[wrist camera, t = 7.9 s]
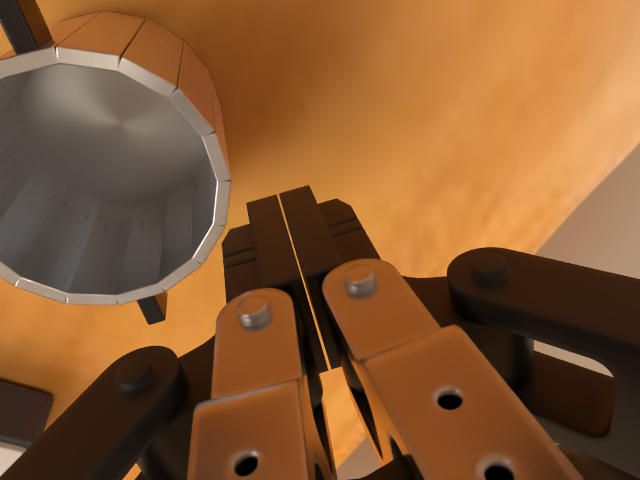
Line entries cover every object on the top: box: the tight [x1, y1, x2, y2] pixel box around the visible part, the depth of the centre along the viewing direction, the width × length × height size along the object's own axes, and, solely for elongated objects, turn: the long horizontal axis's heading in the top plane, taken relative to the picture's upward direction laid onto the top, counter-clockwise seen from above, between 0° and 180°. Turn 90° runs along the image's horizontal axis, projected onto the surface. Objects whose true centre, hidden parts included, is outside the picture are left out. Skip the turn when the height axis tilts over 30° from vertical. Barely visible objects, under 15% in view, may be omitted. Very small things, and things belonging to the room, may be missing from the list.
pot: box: [0, 0, 231, 325], centre depth 21 cm, size 9×12×9 cm
